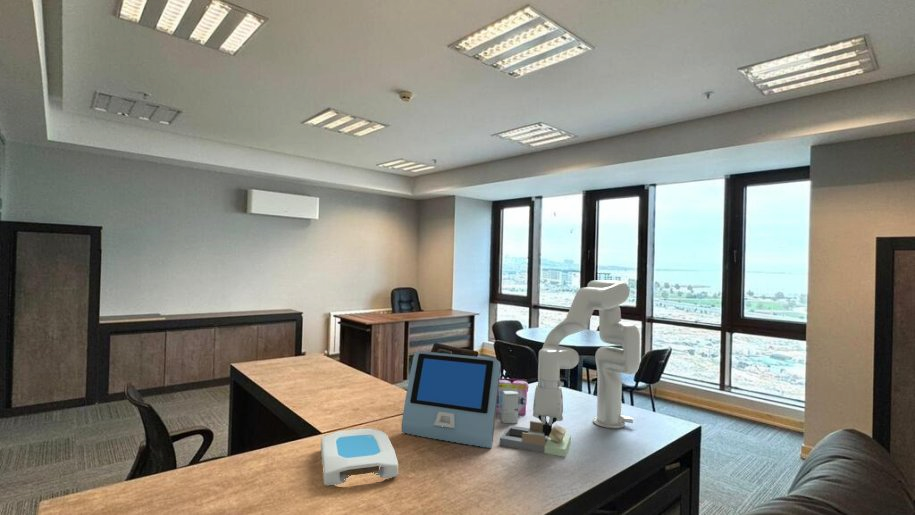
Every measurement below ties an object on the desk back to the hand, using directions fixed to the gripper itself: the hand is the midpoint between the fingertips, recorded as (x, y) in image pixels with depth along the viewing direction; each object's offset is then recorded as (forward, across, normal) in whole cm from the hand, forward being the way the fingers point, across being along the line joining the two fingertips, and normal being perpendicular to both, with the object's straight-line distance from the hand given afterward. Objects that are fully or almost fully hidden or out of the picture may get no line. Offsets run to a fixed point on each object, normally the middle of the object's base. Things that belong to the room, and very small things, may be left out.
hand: (547, 434), depth 156 cm
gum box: (+4, +26, -30) cm, 40 cm away
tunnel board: (+4, +4, 0) cm, 6 cm away
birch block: (+1, -3, 0) cm, 3 cm away
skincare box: (+4, +19, -18) cm, 26 cm away
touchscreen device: (+4, +35, +4) cm, 36 cm away
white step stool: (+5, +52, +41) cm, 67 cm away
